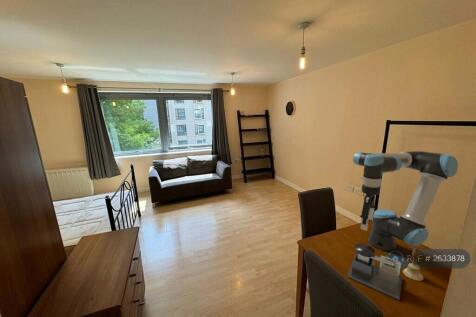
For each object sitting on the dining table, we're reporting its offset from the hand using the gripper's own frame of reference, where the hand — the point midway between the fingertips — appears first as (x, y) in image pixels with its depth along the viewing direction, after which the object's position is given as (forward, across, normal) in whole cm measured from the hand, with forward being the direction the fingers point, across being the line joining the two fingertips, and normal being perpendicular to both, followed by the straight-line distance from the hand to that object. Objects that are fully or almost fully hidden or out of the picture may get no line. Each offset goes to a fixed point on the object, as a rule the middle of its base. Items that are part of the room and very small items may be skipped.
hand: (366, 224), depth 103 cm
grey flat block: (+17, +2, +12) cm, 21 cm away
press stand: (+29, 0, +6) cm, 29 cm away
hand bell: (+29, -15, +21) cm, 38 cm away
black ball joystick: (+23, 0, +5) cm, 23 cm away
